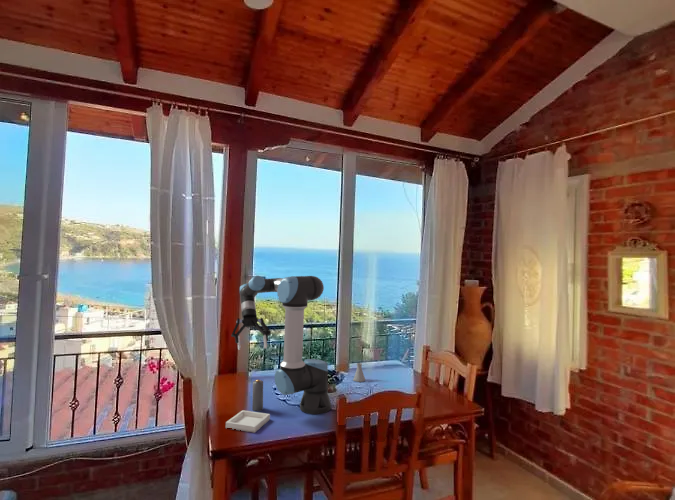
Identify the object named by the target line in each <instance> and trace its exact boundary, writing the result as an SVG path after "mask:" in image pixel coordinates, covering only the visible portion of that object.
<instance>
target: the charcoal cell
mask: <svg viewBox="0 0 675 500" xmlns="http://www.w3.org/2000/svg"><path fill="white" fill-rule="evenodd" d="M251 397H252V401H251V402H252V404H251V406H252V408H251V409H252V410H251V411H252V412H260V411H263V410H264V381H263V380H261V379H255V380H253V381H252V396H251Z"/></svg>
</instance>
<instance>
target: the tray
mask: <svg viewBox="0 0 675 500" xmlns="http://www.w3.org/2000/svg"><path fill="white" fill-rule="evenodd" d="M270 420H271V414H270V413H265V412H260V411H253V410H244V409H243V410H240V411H239V412H238V413H237V414H235V415H233V417H231V418H230V419H228V420H227V421H225V429H227V428H232V429H231V430H234V429H236V430H235V431H240V430H241V431H242V432H248V433H254V434H255V433H256V432H258V431H259V430H260V429H261V428H262V427H264V425H266V424H267V423H268V422H269V421H270Z"/></svg>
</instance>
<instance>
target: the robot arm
mask: <svg viewBox="0 0 675 500" xmlns="http://www.w3.org/2000/svg"><path fill="white" fill-rule="evenodd" d="M324 288H325V287H324V283H323V281H322V279H320V278H319V277H317V276H315V275H298V276H297V275H296V276H293V275H292V276H286V277H284V278H282V277H275V278H264V277H263V276H260V275H255V276H252V278H251V279H250V280H249V281H248V282H247V283H244V284H242V285H240V286H239V298H240V306H241V309H240V310H241V317H242V318H237V319H236V322H235V323H236V325H235V326H234V328H233V331H232V332H231V335H230V336H231V337H232V338H234V340H235V341H234V342H235V344H237V350H238V351H240V350H241V347H242V346H241V335H240V334H241V333H242V332H243V330H244V329H245V328H247V329H249V328H252V329H253V328H254V329H256V330H257V331H259V332H260V333H261V335H263V337H262V338H263V347H264V349H267V348H268V343H267V342H269V336H270V335H271V333H272V332H271V330H270V329H269V327H268V326H267V323H266V322H265V321H264V318H263V317H261V318H259V319H258V317H257V310H256V309H257V308H256V298H255V297H256V296H257V295H258V294H260V293H261V294H262V293H276V294H277V297H278V300H279V302H281V303H282V304H281V305H282V307H283V308H284V310H285V311H284V312H285V313H284V335H283V336H284V337H283V338H284V342H283V343H284V344H283V360H282V361H281V362H280V364H279V368H278V369H277V370H276V371H275V373H274V383H275V386H276V388H277V390H278V392H279V393H280V394H282V395H285V396H287V395H294V394H296V393H301V392H303V394H302V397H301V400H300V402H299V410H300V411H301V412H302V413H305V414H311V415H321V414H326V413H327V412H329V411H331V409H332V402H331V398H330V395H329V392H328V383H329V381H328V380H329V377H328V376H329V367H328V363H327V361H325V360H321V359H318V358H317V359H316V358H315V359H314V358H308V359H307V358H306V359H304V361H303V347H304V323H305V321H304V319H305V309H306V308H307V307H308V304H309V303H308V301H314V300H317V299H319V298H320V297H321V296H322V294H323V293H324ZM241 323H242V326H241V327H240V329H239V330H238V327H239V325H240V324H241Z"/></svg>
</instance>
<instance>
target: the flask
mask: <svg viewBox="0 0 675 500" xmlns="http://www.w3.org/2000/svg"><path fill="white" fill-rule="evenodd" d="M362 366H363V363H361V362H357V363H356V371H355V374H354V376H353V379H352V381H354V382H357V383H362V382H363V383H364V382H365V381H366V377H365V375H364V371H363V367H362Z"/></svg>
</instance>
